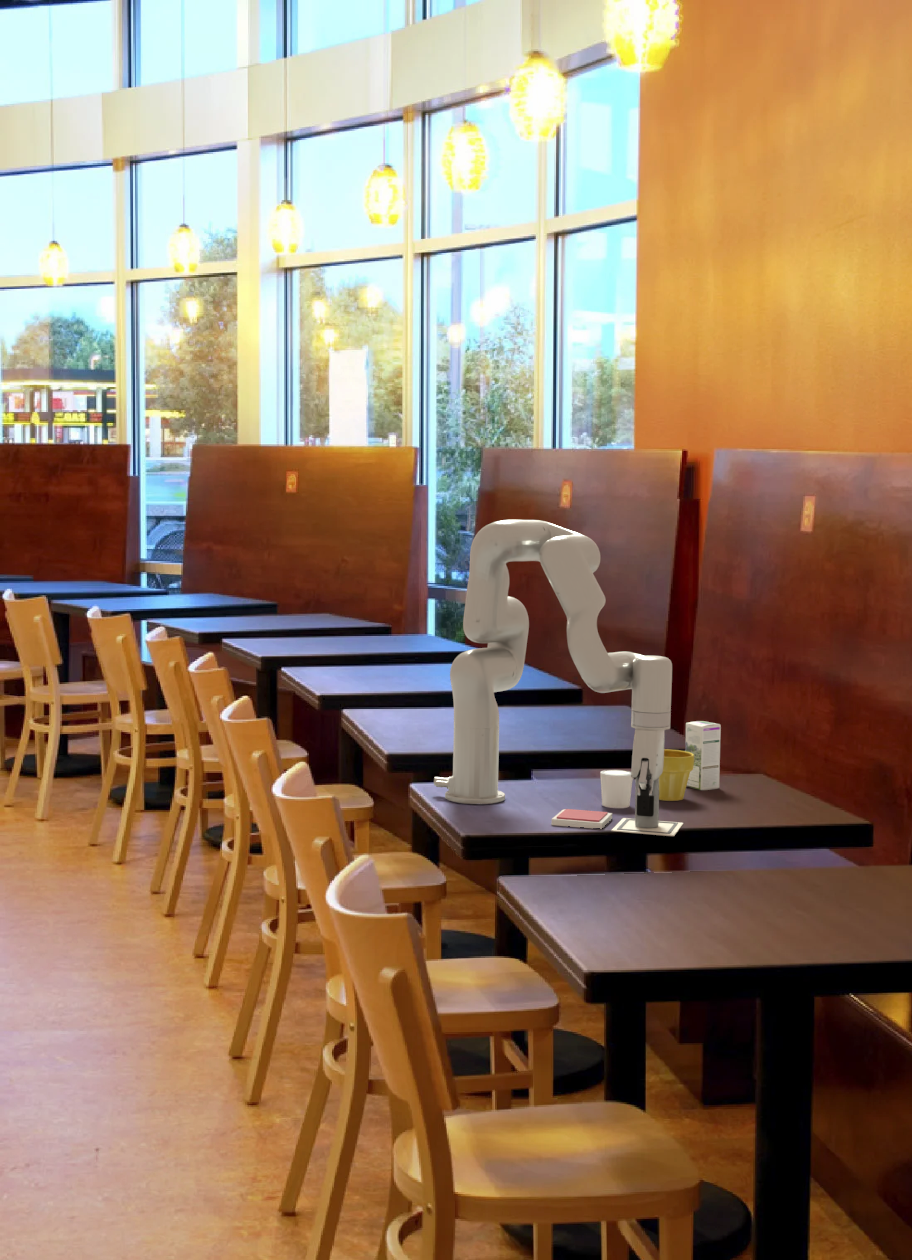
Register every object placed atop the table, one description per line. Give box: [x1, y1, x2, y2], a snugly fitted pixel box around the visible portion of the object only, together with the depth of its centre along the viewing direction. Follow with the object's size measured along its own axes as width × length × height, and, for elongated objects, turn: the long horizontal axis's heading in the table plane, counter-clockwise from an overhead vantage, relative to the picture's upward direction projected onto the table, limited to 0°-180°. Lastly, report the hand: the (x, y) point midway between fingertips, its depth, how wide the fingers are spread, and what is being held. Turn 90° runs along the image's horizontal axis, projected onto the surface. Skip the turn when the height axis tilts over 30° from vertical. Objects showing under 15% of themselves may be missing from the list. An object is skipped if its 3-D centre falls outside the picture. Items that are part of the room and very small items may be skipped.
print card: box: [610, 817, 684, 837], centre depth 297 cm, size 12×12×1 cm
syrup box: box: [684, 720, 722, 791], centre depth 339 cm, size 6×6×14 cm
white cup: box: [599, 769, 634, 809], centre depth 318 cm, size 7×7×7 cm
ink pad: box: [550, 808, 613, 830], centre depth 300 cm, size 10×10×2 cm
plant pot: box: [659, 748, 694, 802], centre depth 326 cm, size 10×10×10 cm
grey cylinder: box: [634, 774, 660, 828], centre depth 297 cm, size 4×4×10 cm
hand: (647, 812), depth 297 cm, fingers open, 5 cm apart
